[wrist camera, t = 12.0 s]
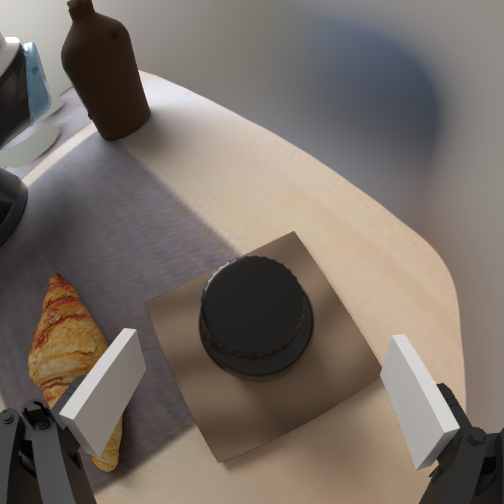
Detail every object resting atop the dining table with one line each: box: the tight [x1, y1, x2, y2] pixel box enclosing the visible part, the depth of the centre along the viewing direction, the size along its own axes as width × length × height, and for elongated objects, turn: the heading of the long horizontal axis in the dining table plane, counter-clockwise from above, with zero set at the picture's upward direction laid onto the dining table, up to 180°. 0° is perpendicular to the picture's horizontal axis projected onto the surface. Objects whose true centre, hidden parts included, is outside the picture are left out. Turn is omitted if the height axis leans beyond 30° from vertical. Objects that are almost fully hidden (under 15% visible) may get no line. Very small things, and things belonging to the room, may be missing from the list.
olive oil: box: [61, 0, 150, 139], centre depth 30 cm, size 11×11×25 cm
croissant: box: [28, 273, 123, 472], centre depth 21 cm, size 21×10×8 cm, turn 26°
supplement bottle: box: [198, 255, 316, 383], centre depth 18 cm, size 7×7×12 cm
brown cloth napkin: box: [145, 231, 382, 463], centre depth 24 cm, size 16×16×1 cm
